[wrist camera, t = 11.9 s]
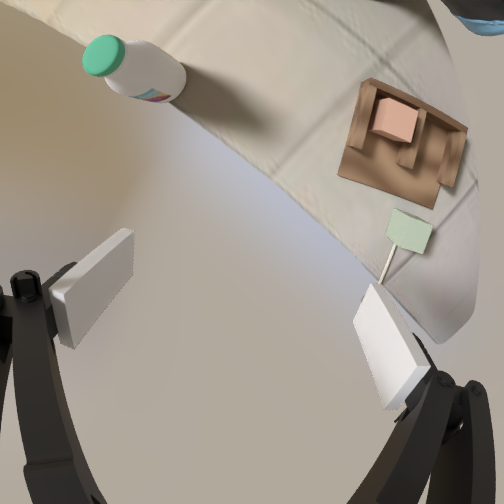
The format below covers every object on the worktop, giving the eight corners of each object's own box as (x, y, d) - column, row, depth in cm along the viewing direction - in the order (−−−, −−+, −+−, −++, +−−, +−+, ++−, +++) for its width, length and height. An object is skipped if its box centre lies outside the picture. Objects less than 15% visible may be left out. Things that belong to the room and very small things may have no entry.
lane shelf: (361, 82, 37) (371, 77, 32) (453, 126, 37) (467, 127, 33) (337, 174, 43) (344, 179, 39) (430, 208, 44) (443, 215, 39)
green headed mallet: (392, 207, 45) (423, 224, 35) (414, 215, 45) (447, 234, 35) (354, 305, 52) (372, 340, 42) (376, 309, 52) (396, 343, 42)
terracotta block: (373, 101, 37) (388, 97, 32) (400, 112, 37) (418, 111, 32) (366, 129, 39) (381, 129, 33) (393, 140, 39) (410, 142, 34)
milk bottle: (161, 52, 36) (98, 12, 17) (197, 73, 37) (148, 35, 19) (134, 89, 38) (58, 73, 20) (168, 112, 40) (102, 102, 22)
